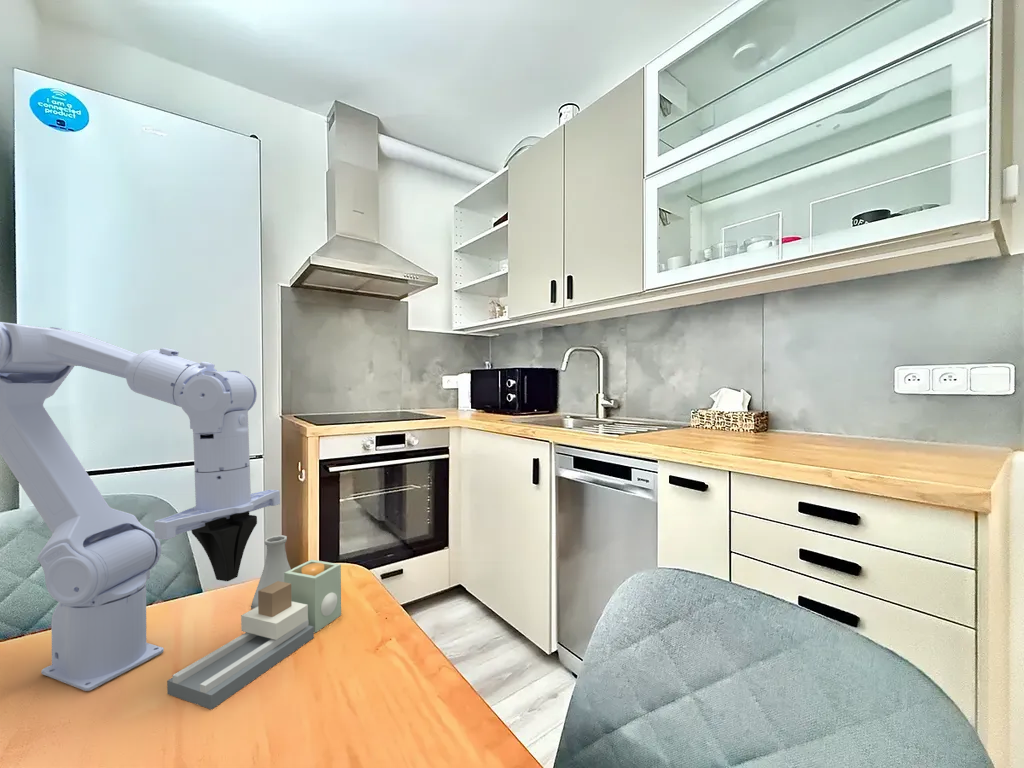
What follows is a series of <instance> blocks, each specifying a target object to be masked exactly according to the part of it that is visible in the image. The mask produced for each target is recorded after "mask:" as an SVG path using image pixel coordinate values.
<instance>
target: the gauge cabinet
mask: <svg viewBox="0 0 1024 768" xmlns="http://www.w3.org/2000/svg"><path fill="white" fill-rule="evenodd" d="M312 563H322V564H324V571H323V572H321V573H320V574H318V575H316V576H312V575H306V574H302V567H304V566H306V565H308V564H312ZM341 567H342V564H339V563H335V562H328V561H322V560H317V559H316V560H315V559H310V560H308V561H306V562H303V563H302V564H299V565H297V566H295V567H293V568H292V569H291V570H289V571H287V572H285V573H284V582H285V583H291V601H292V602H297V603H302V604H307V605H308V623H309V626H313V627H314V634H315V633H317V632H319V631H320V630H322V629H323V628H325V627H326V626H328V625H329V624H330V623H332V622H333V621H335V620H336V619H338V618H339V617H340V616H342V575H341V574H342V573H341V572H342V569H341Z"/></svg>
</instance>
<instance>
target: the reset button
mask: <svg viewBox="0 0 1024 768" xmlns="http://www.w3.org/2000/svg"><path fill="white" fill-rule="evenodd" d="M323 571H324V564H322V563H312V564H308V565H306V566H304V567H302V574H306V575H312V576H316V575H318V574H320V573H321V572H323Z"/></svg>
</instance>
